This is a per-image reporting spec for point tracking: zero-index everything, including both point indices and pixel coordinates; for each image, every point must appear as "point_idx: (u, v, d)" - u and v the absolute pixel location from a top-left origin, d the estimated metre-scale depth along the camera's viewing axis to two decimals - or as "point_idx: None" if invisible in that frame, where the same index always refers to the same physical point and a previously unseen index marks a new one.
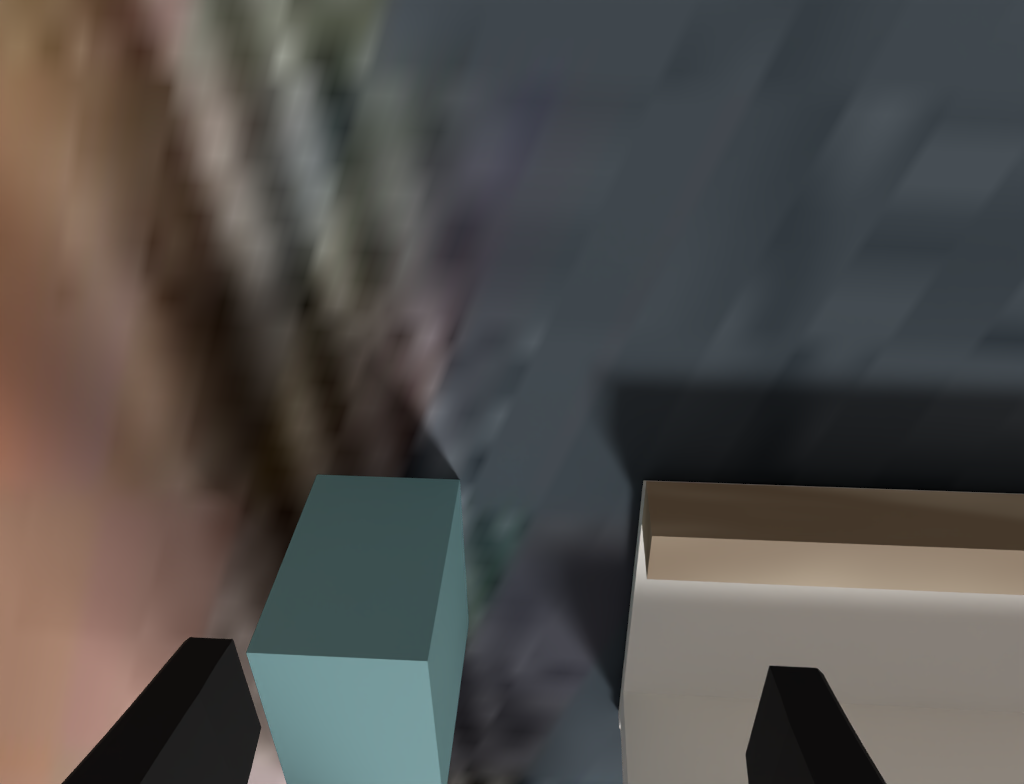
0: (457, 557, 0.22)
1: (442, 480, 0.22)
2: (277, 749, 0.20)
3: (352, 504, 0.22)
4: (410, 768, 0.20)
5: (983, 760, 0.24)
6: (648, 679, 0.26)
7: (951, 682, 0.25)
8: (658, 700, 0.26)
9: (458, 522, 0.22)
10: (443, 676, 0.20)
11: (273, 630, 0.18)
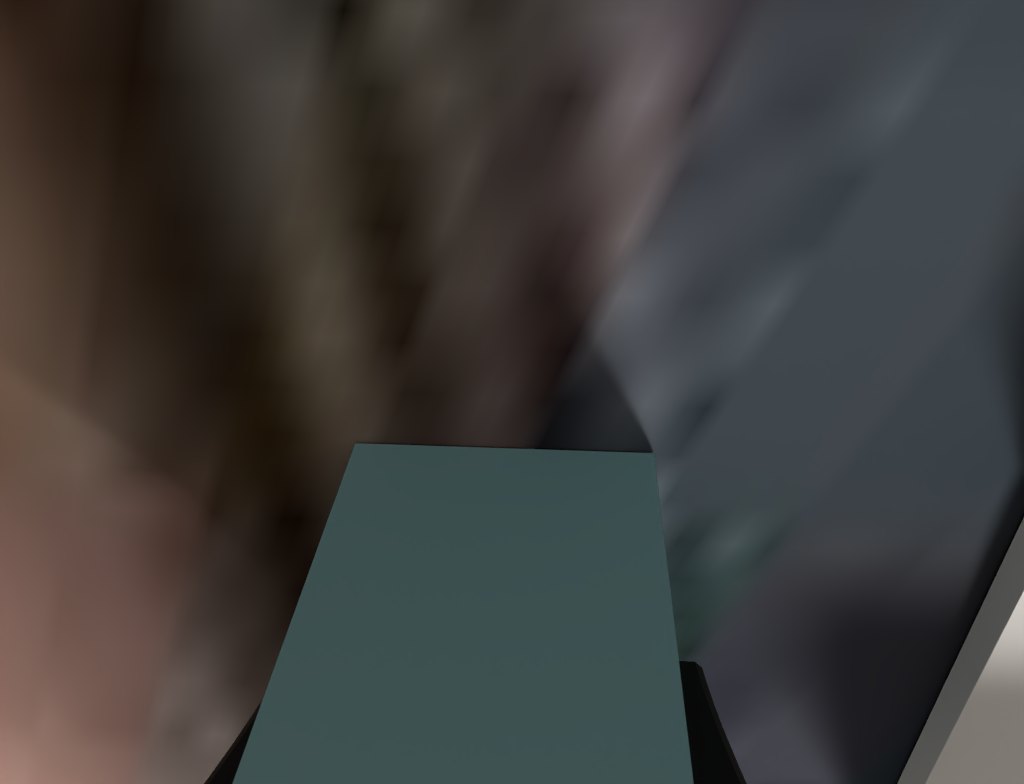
0: None
1: (618, 457, 0.11)
2: None
3: (437, 508, 0.10)
4: None
5: None
6: None
7: None
8: None
9: None
10: None
11: None
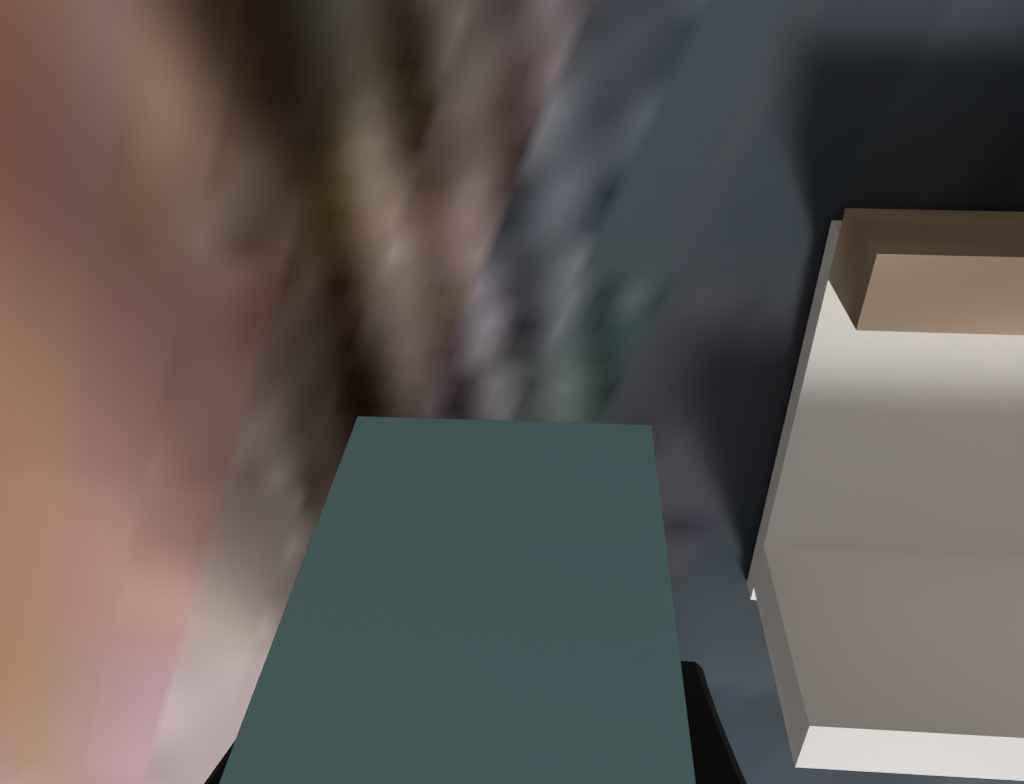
0: None
1: (616, 429, 0.11)
2: None
3: (437, 476, 0.10)
4: None
5: None
6: (799, 527, 0.20)
7: None
8: (810, 555, 0.20)
9: None
10: None
11: None
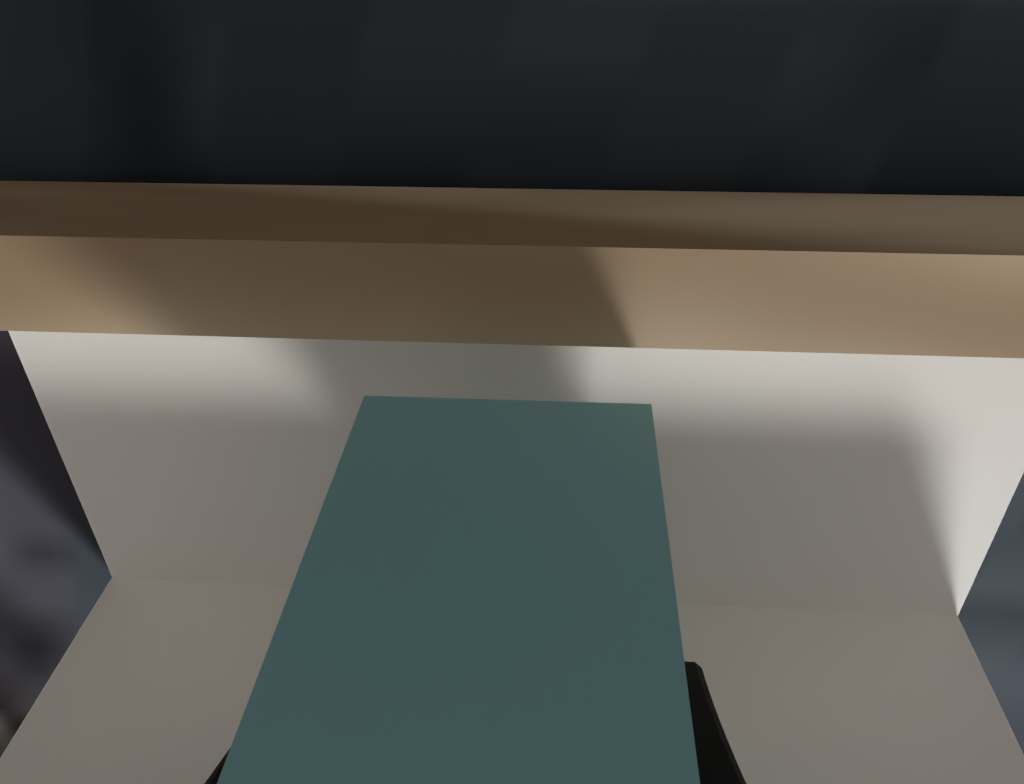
0: None
1: (617, 407, 0.11)
2: None
3: (443, 452, 0.10)
4: None
5: None
6: (136, 555, 0.17)
7: None
8: (155, 587, 0.18)
9: None
10: None
11: (276, 753, 0.07)
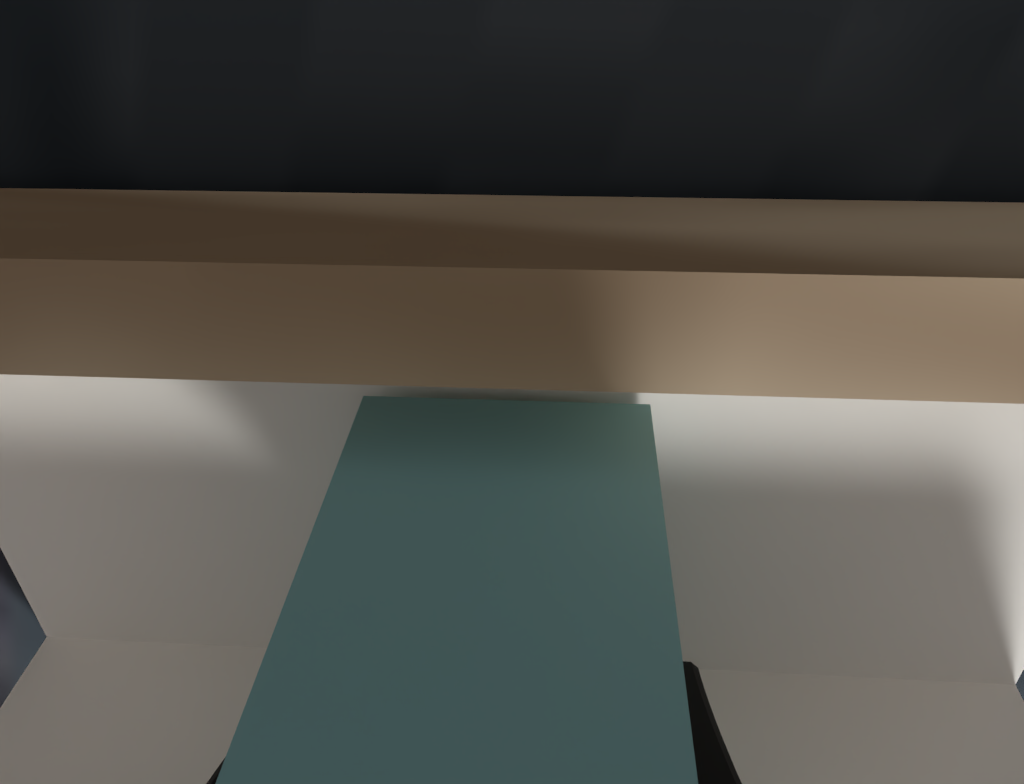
0: None
1: (616, 407, 0.11)
2: None
3: (442, 452, 0.10)
4: None
5: None
6: (72, 613, 0.15)
7: None
8: (94, 649, 0.15)
9: None
10: None
11: (275, 753, 0.07)
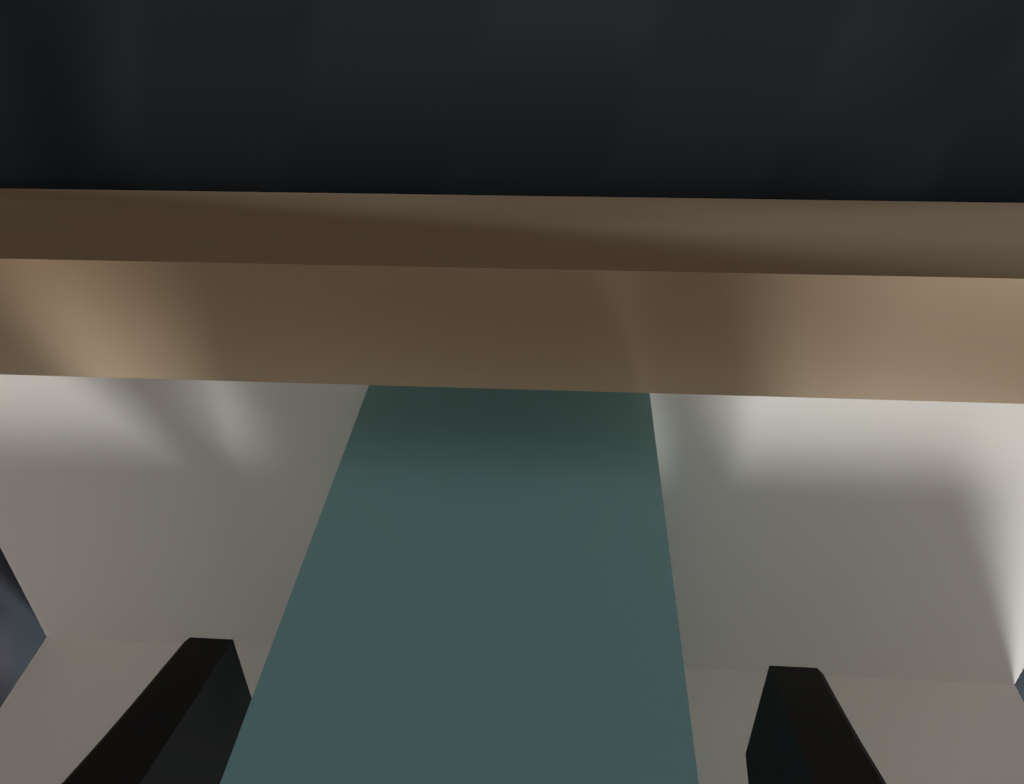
0: None
1: (616, 394, 0.11)
2: None
3: (447, 437, 0.11)
4: None
5: None
6: (72, 613, 0.15)
7: None
8: (94, 649, 0.15)
9: None
10: None
11: (289, 720, 0.07)
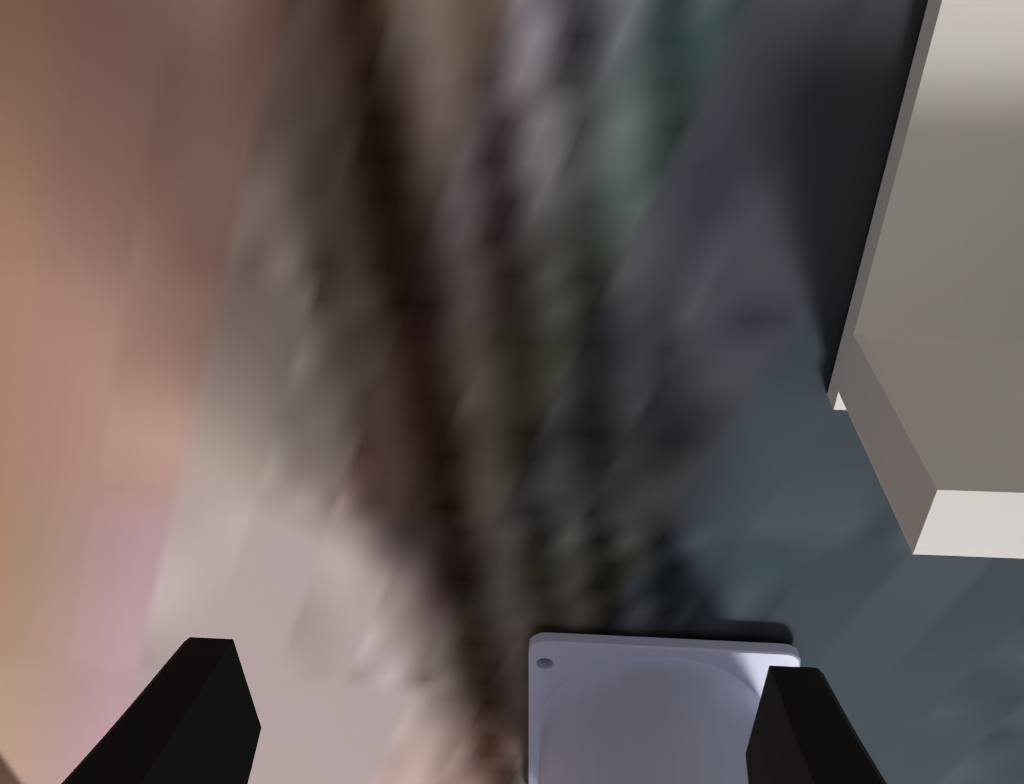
0: None
1: None
2: None
3: None
4: None
5: None
6: (897, 305, 0.17)
7: None
8: (911, 340, 0.17)
9: None
10: None
11: None
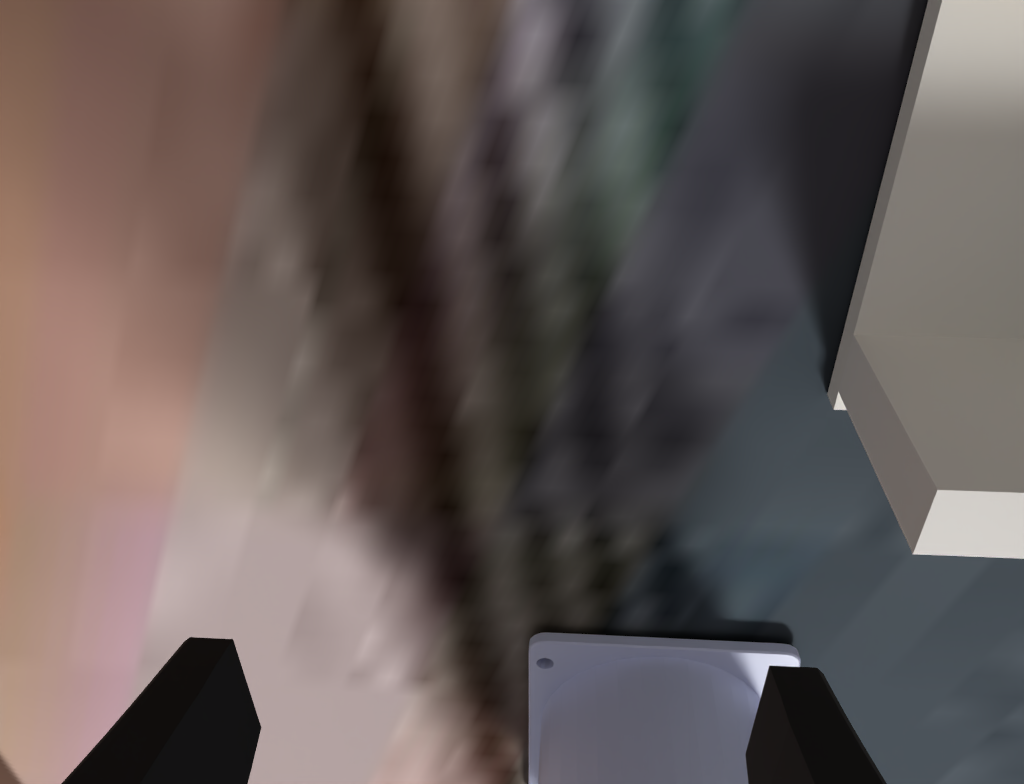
0: None
1: None
2: None
3: None
4: None
5: None
6: (898, 305, 0.17)
7: None
8: (911, 340, 0.17)
9: None
10: None
11: None
